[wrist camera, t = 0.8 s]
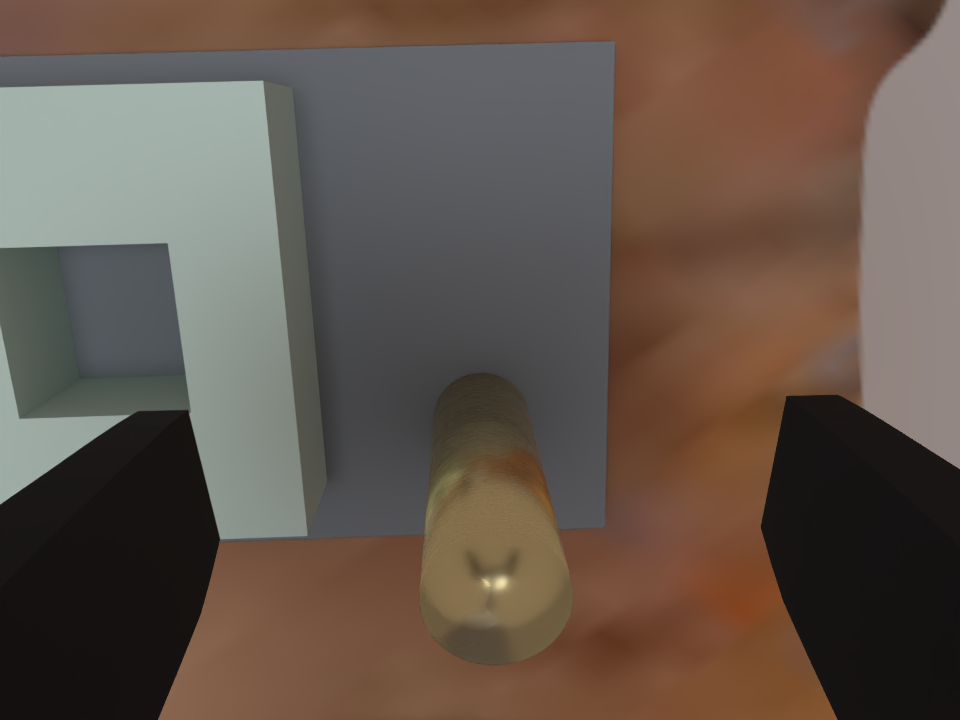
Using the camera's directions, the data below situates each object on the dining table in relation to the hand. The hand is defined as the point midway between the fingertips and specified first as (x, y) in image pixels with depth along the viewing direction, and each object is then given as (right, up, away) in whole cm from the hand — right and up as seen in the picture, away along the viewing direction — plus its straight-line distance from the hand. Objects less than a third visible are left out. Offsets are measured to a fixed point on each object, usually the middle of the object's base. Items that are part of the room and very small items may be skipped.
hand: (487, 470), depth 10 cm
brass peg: (0, 0, +15) cm, 15 cm away
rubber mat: (-6, +3, +15) cm, 16 cm away
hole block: (-10, +3, +14) cm, 17 cm away
